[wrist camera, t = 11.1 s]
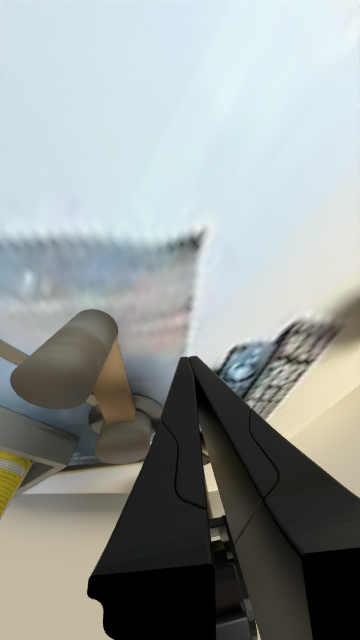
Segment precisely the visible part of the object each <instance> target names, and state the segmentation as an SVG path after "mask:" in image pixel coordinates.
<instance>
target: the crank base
mask: <svg viewBox="0 0 360 640" xmlns="http://www.w3.org/2000/svg"><path fill="white" fill-rule="evenodd" d="M0 357H2V358H4V359H6V360H8V361H9V362H11V363H13V364H15V365H17V366H19V365H20V364H21V363H22V362H24V361H25V360H26V359H27V358H28V357H29V356H27V355H26V354H24V353H22V352H20V351H19V350H17V349H15V348H13V347H12V346H10V345H8V344H6V343H5V342H3V341H1V340H0ZM132 398H133V402H134V405H135V409H136V411H139V412H142V413H144V414H146V415H147V416H148V417H149V418H150V421H151V430H150V435H151V434H153V433H154V432H156V430H157V427H158V423H159V421H160V418H161V415H162V412H163V408H162V406H161V405H160V404H159V403H158V402H157V401H155V400H154V399H152V398H149V397H147V396H144V395H139V394H132ZM85 402H87V403H89V404H91V405H93V406H94V407H93V408H92V410H91V412H90V414H89V424H90V426H91V428H92V429H93V430H94V431H95V432H96V433H98V434H99V433H100V430H101V426H102V423H103V420H104V417H103V415H102V412H101V410H100V408H99V405H98V403H97V401H96V398H95V396H94V394H93V393H92V392H91V393H90V396H89V397H88V399H87V400H86V401H85Z"/></svg>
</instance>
